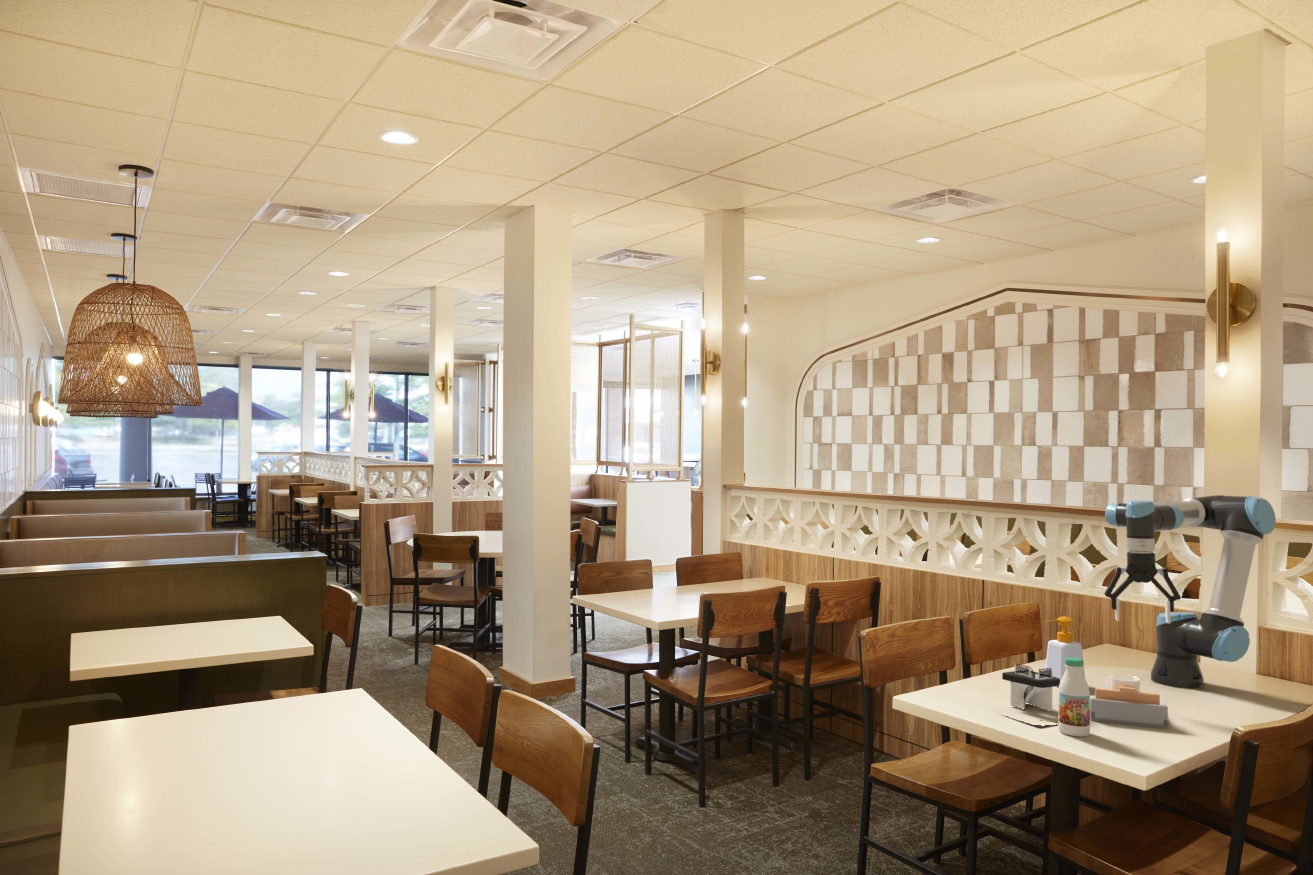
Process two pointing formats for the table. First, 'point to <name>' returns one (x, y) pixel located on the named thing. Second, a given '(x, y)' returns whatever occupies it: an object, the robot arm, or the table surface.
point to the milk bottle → (1074, 700)
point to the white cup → (1124, 681)
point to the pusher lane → (1129, 713)
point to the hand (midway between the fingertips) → (1142, 621)
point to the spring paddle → (1127, 695)
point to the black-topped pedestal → (1031, 688)
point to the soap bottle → (1062, 648)
